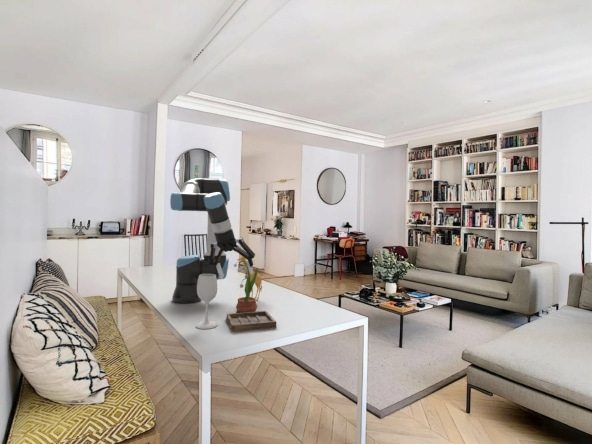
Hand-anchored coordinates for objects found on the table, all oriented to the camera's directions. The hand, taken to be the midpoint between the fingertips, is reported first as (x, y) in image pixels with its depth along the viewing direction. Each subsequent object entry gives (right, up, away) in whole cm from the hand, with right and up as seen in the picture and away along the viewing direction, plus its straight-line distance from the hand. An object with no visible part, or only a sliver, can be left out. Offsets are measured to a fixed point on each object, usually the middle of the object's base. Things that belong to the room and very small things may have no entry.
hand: (236, 275), depth 145 cm
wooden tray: (+6, -20, -2) cm, 21 cm away
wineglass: (-12, -20, -6) cm, 24 cm away
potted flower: (+1, -20, +15) cm, 25 cm away
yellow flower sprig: (+1, -19, +33) cm, 39 cm away
